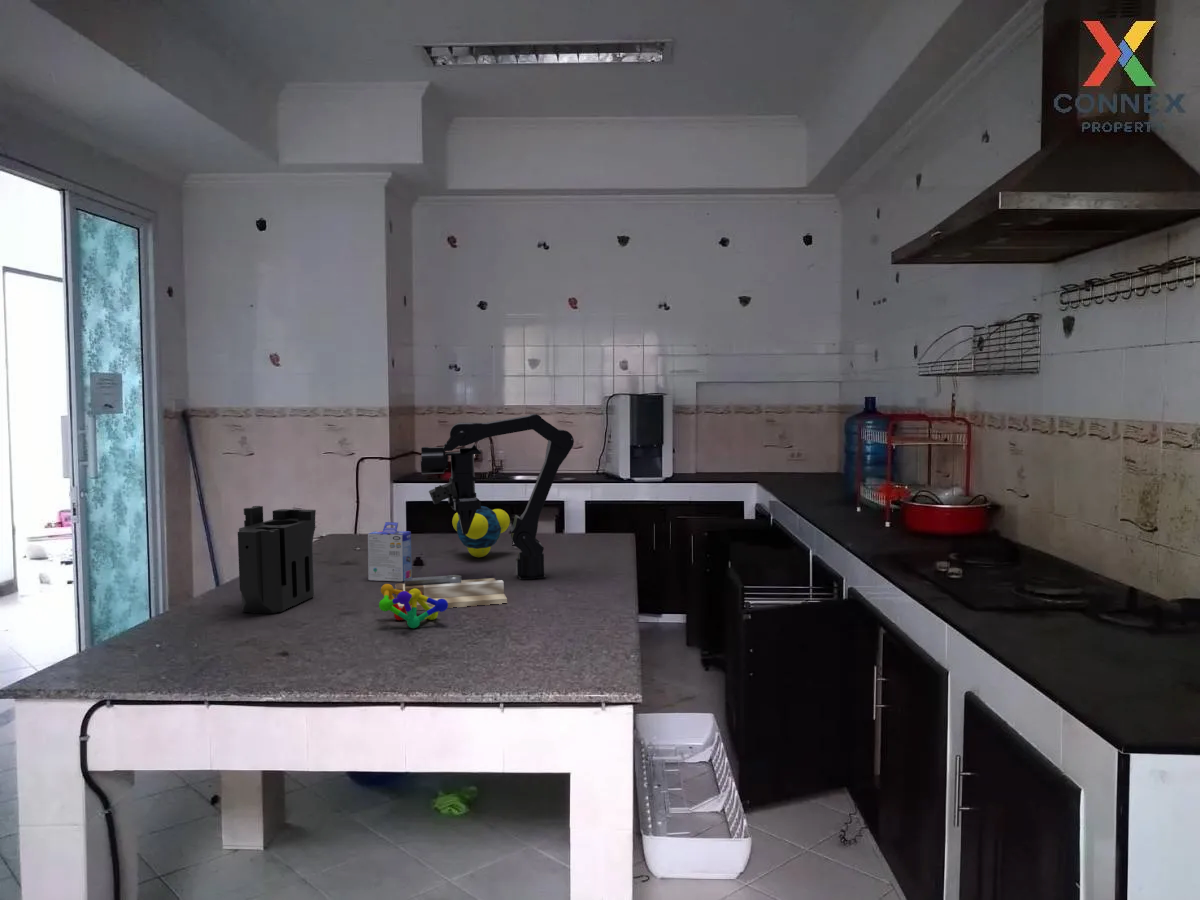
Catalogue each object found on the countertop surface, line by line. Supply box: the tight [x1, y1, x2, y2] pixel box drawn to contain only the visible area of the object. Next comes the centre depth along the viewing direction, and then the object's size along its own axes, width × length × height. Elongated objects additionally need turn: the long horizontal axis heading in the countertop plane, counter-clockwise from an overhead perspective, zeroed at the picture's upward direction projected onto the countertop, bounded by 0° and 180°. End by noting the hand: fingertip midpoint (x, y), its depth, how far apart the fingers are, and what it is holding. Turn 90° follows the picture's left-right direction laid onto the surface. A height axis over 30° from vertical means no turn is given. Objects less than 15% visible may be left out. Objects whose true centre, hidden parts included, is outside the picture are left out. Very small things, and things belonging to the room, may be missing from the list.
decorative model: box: [378, 583, 449, 629], centre depth 173 cm, size 13×9×15 cm
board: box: [394, 577, 508, 611], centre depth 196 cm, size 24×22×4 cm
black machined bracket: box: [237, 505, 317, 614], centre depth 188 cm, size 12×21×22 cm, turn 169°
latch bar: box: [404, 574, 462, 586], centre depth 194 cm, size 13×4×3 cm, turn 105°
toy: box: [451, 505, 511, 558], centre depth 241 cm, size 16×17×15 cm
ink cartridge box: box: [367, 521, 413, 582], centre depth 214 cm, size 10×6×14 cm, turn 78°
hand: (465, 534), depth 212 cm, fingers closed
